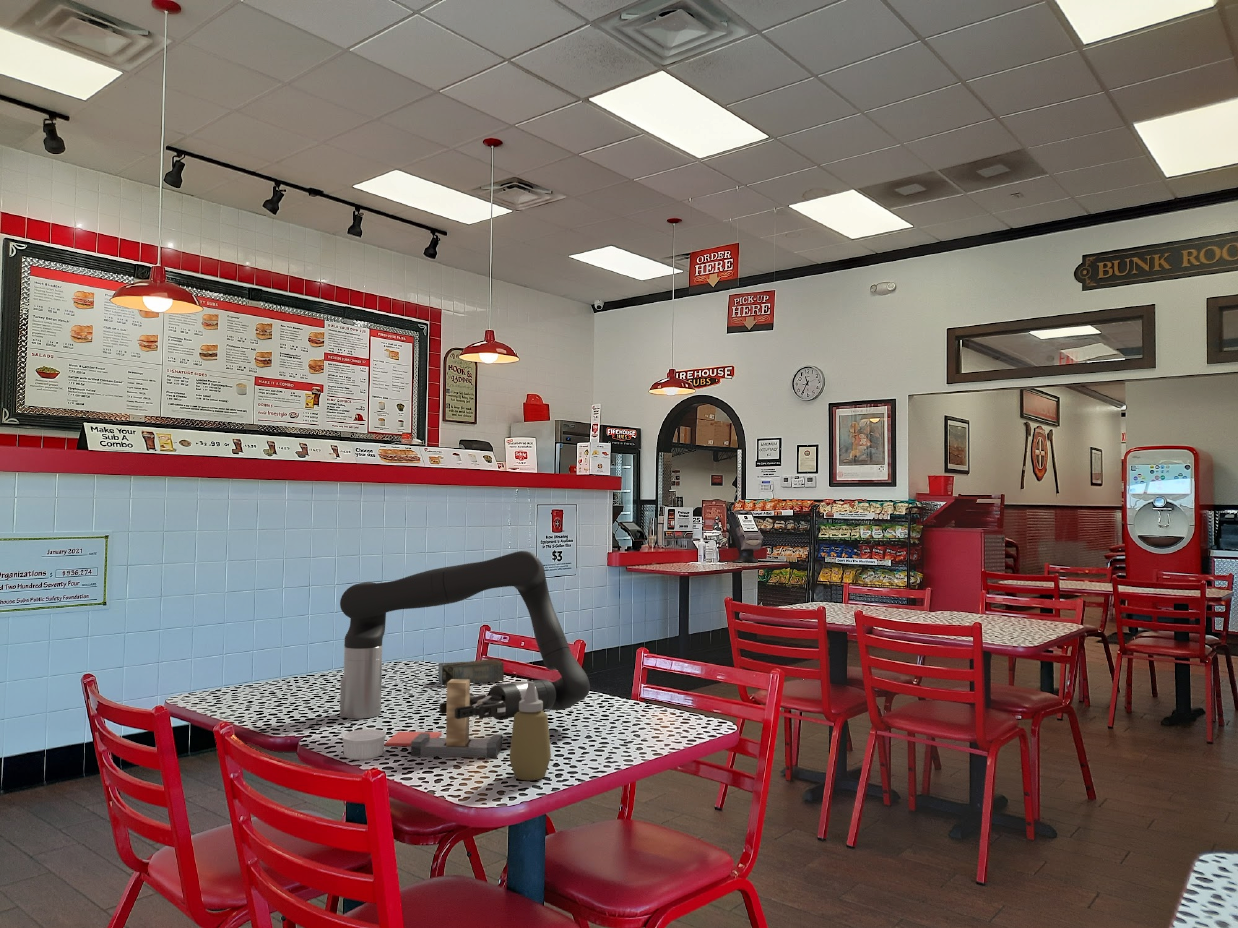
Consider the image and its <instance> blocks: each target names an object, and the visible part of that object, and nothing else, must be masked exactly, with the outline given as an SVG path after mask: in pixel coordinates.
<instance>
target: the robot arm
mask: <svg viewBox="0 0 1238 928" xmlns="http://www.w3.org/2000/svg"><path fill="white" fill-rule="evenodd" d="M546 577H547V576H546V570H545V567H544V564H543V563H542V561H541V560H540V559H539V557H538V556H537V555H535V554H534V553H532V552H530V551H527V550H520V551H515V552H511V553H508V554H505V555H501V556H498V557H494V558H490V559H487V560H482V561H476V562H469V563H463V564H459V565H452V566H445V567H444V566H443V567H439V568H435V569H430V570H429V569H428V570H425V571H422V572H417V573H415V574H412V575H409V576H405V577H401V578H399V579H396V580H390V581H385V582H373V581H364V582H359V583H356V584H353V585H351V586H349V587H348V588H347V589H346V590H344V592H343V593H342V595H341V598H340V600H339V607H340V610H341V611H342V613H343V614H344V615H345V616H346V617H348V618H350V621H349V623H350V624H349V626H348V627H349V628H348V630H347V632H346V634H345V635H344V636H345V637H344V646H343V647H344V648H343V649H344V650H343V651H344V653H343V654H344V655H343V676H342V677H341V678H340V691H339V692H340V693H339V697H340V698H339V717H340V718H341V717H342V718H347V719H368V718H369V719H370V718H373V717H377V716H380V715H381V714H382V677H383V676H382V674H383V673H382V672H383V669H382V668H383V638H384V635H385V631H386V620H387V619H386V618H387V613H389V612H393V611H401V610H409V609H423V608H430V607H438V606H445V605H449V604H454V603H459V602H461V601H464V600H467V599H469V598H471V597H473V596H475V595H477V594H479V593H481V592H484V591H487V590H492V589H499V588H506V587H514V588H515V589H516V590H517V592H518V593H519V595H520V596H521V598H522V600H523V602H524V604H525V607H526V609H527V611H528V614H529V617H530V621H531V625H532V631H533V635H534V639H535V641H536V645H537V648H538V650H539V654H540V656H541V658H542V661H543V664H544V666H545V668H546V669H547V670H549V671H555V670H556V671H557V672H558V673H559V675H560V676H561V677H560V678H559V679H558V680H555V681H551V680H548V679H542V678H541V679H534V680H528V681H516V682H508V683H502V684H496V685H493V686H492V687H490V689H489V691H488V693H487V695H486V694H485V693H480V694H477V695H475V694H473V693H470V702H469V706H464V707H459V708H456V709H455V718H456V719H461V718H467V717H469V718H478V719H480V720H482V719H487V718H493V719H495V720H497V721H498V720H499V721H501V720H506V719H513V718H514V715H515V714H516V713H517V712H519V711H520V710H519V702H520V701H521V700H524V699H525V695H526V690H527V686H528V682H534V684H535V689H536V694H537V699H538V700H541V701H543V710H542V711H562V710H567V709H569V708H571V707H574V706H575V705H576V704H578V703H580V702H582V701H583V700H584V699H586V698H587V697H588V695H589V693H590V681H589V680H590V679H589V677H588V675H587V673H586V671H585V670H584V669H583V668H582V666H581V665H580V664H579V662H578V660H577V659H576V658H575V656H574V655H573V654H572V651H571V649H570V645H569V642H568V640H567V639H566V636H565V635H566V634H565V632H564V630H563V627H562V626H561V623H560V621H559V619H558V617H557V616H558V615H557V614H556V611H555V609H554V606H553V603H552V599H551V596H550V592H549V588H548V583H547V578H546ZM439 713H440V714H442V715H443V714H447V701H445V702H440V703H439Z"/></svg>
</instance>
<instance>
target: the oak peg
mask: <svg viewBox="0 0 1238 928" xmlns="http://www.w3.org/2000/svg"><path fill="white" fill-rule="evenodd" d="M470 688H471V684H470V679H451V680H450V681H449V682H447V686H446V702H447V713H446V727H445V728H446V730H445V731H446V732H445V733H446V734H445V736H446V737H445V738H446V746H467V745H468V744H469V739H470V717H467V718H461V719H456V718H455V709H456V708H459V707H464V706H469V702H470V694H471V693H470V692H471V691H470V690H471V689H470Z"/></svg>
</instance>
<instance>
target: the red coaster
mask: <svg viewBox="0 0 1238 928" xmlns="http://www.w3.org/2000/svg"><path fill="white" fill-rule="evenodd" d="M442 732H443V731H398V732H396V733H395V734H394V735H393V736H392V737H391V738H389V739H388V740H387V741H385V742H384V747H411V741H413V740H414V739H415V738H416V737H417V736H418V735H419V734H420V733H430V738H440V737H441V736H442ZM439 736H440V737H439Z"/></svg>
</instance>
